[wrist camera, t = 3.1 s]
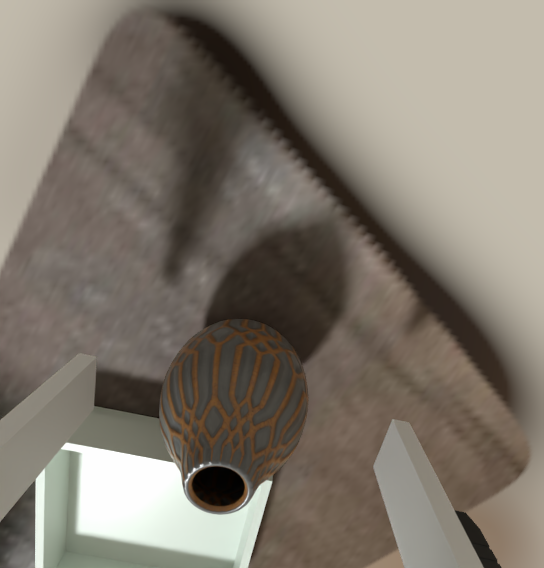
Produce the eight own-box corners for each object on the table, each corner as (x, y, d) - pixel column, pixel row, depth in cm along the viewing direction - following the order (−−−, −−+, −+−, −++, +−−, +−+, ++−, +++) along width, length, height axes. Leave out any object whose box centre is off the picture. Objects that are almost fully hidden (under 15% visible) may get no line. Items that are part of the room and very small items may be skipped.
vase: (201, 286, 18) (135, 376, 10) (319, 322, 19) (352, 436, 10) (174, 388, 20) (99, 536, 12) (281, 418, 21) (283, 580, 12)
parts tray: (63, 546, 24) (35, 594, 21) (69, 401, 20) (36, 436, 18) (236, 576, 25) (230, 627, 22) (273, 440, 21) (272, 481, 18)
